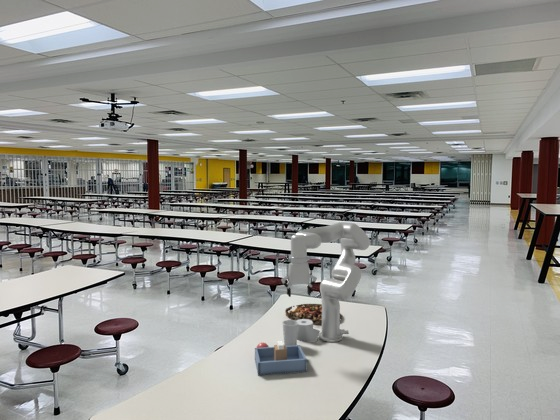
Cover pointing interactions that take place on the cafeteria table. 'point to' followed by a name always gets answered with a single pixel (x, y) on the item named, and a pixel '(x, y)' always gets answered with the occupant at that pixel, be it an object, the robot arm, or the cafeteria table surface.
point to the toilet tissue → (306, 331)
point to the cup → (290, 332)
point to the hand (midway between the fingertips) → (299, 295)
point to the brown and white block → (280, 351)
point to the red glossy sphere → (262, 345)
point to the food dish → (307, 313)
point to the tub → (280, 361)
